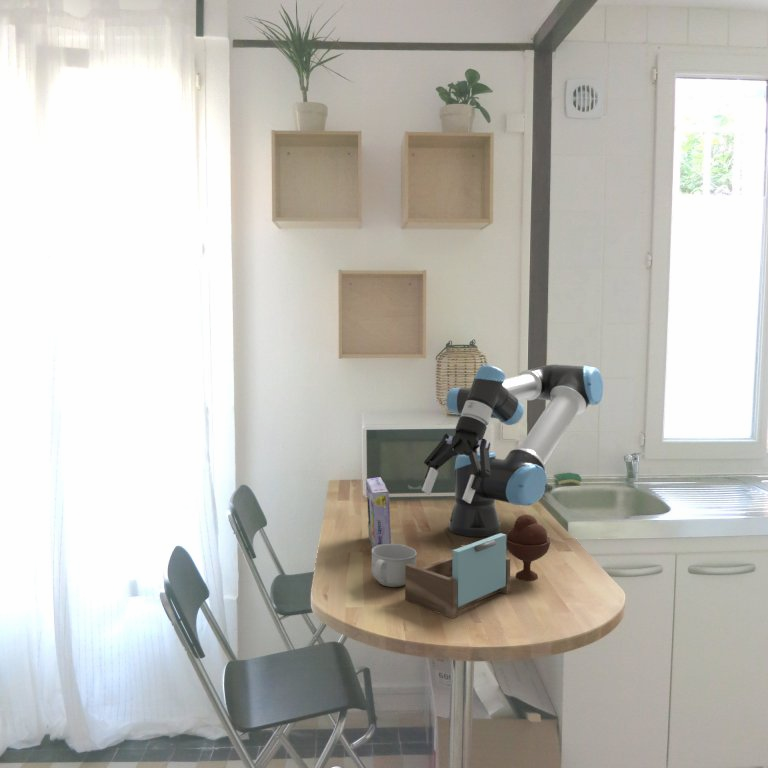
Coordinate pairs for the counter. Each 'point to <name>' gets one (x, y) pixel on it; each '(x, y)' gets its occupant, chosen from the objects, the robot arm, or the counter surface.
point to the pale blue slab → (479, 568)
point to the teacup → (391, 563)
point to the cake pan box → (378, 512)
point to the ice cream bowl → (527, 544)
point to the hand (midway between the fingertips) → (445, 497)
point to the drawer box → (439, 587)
